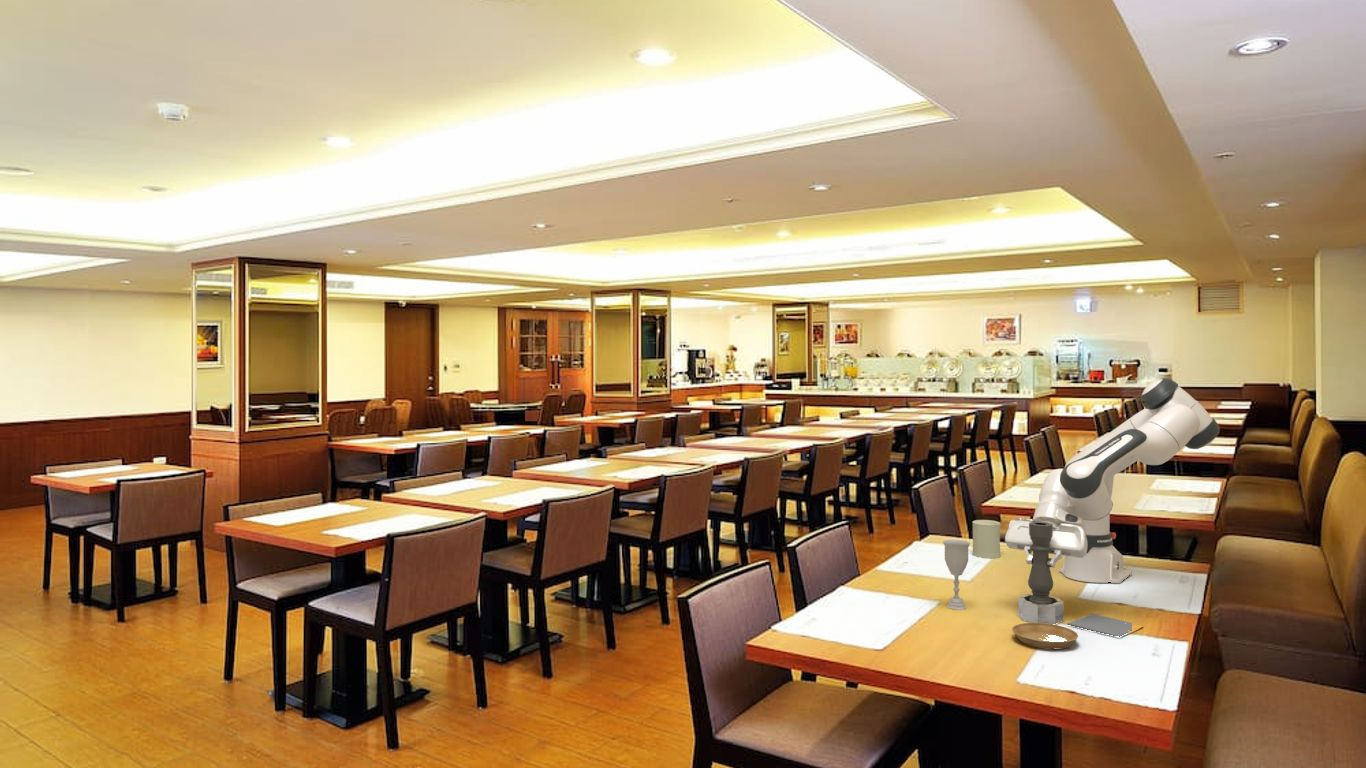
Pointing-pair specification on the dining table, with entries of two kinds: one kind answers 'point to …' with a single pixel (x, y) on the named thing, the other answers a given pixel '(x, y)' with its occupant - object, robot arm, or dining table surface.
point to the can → (986, 539)
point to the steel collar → (1040, 610)
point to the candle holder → (1040, 562)
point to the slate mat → (1103, 625)
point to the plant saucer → (1044, 634)
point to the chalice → (956, 567)
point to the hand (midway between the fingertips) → (1039, 564)
